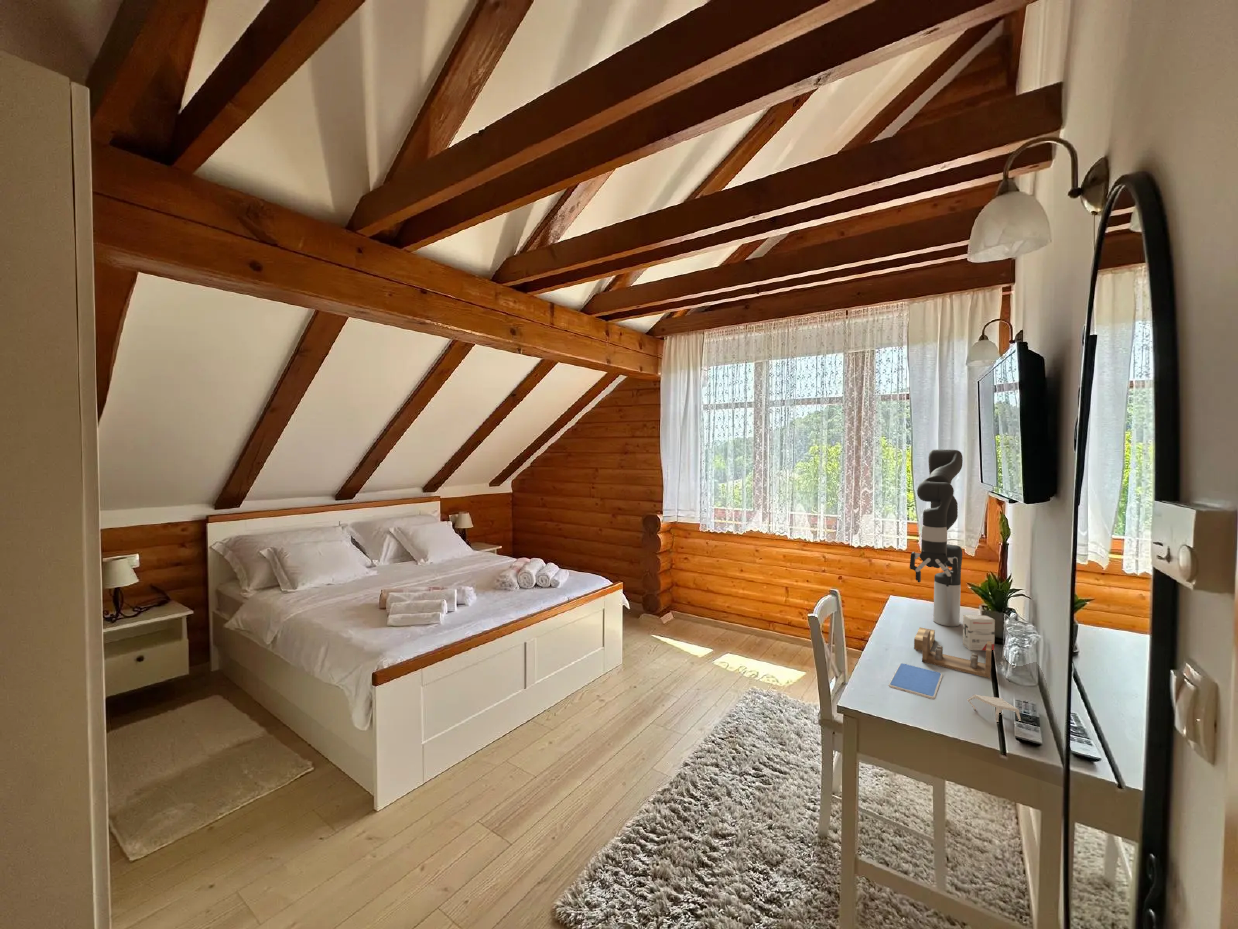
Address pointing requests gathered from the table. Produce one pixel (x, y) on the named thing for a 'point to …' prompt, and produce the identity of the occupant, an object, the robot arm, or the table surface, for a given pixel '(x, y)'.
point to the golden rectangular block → (919, 638)
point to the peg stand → (956, 659)
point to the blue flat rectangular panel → (916, 680)
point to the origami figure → (995, 704)
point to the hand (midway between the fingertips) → (933, 584)
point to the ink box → (978, 631)
